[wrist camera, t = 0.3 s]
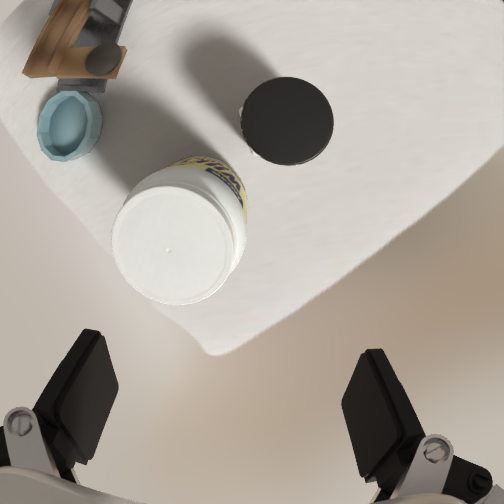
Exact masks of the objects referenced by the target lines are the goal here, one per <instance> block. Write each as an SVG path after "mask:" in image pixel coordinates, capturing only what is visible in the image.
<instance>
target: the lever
mask: <svg viewBox="0 0 504 504" xmlns="http://www.w3.org/2000/svg"><path fill="white" fill-rule="evenodd" d="M91 1H92V0H60V1H59V3H58V4H57V6H56V7H55V9H54V11H53V12H52V14H51V16H50V17H49V19H48V21H47V23H46V24H45V26H44V28H43V30H42V32H41V34H40V35H39V37H38V39H37V41H36V43H35V45H34V47H33V49H32V51H31V54H30V56H29V58H28V60H27V62H26V64H25V67H24V69H23V71H22V73H23V74H24V75H26V76H28V77H29V78H39V77H57V78H58V79H63V78H102V79H116V76H117V74H118V71H119V69H120V66H121V64H122V62H123V59H124V57H125V55H126V52H127V49H126V48H125V46H118V45H117V44H116V43H113V42H106V43H102V44H100V45H98V46H94V47H76V48H72V47H73V45H74V43H75V41H76V39H77V37H78V35H79V33H80V31H81V29H82V27H83V25H84V24H85V22H86V20H87V18H88V16H89V15H90V13H91V10H89V9H88V8H89V6H90V3H91Z"/></svg>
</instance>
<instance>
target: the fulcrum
mask: <svg viewBox="0 0 504 504" xmlns="http://www.w3.org/2000/svg"><path fill="white" fill-rule="evenodd" d="M59 1H60V0H54V3H53V5H52V8H51V10H50V13H49V16H51V14H52V12H53V11H54V9H55V7H56V6H57V4H58V3H59ZM132 1H133V0H92V1H91V3H90V6H89V8H88V9H89V10H91V13H90V15H89V16H88V18H87V20H86V22H85V24H84V25H83V27H82V29H81V31H80V33H79V35H78V37H77V39H76V41H75V43H74V45H73V47H72V48H76V47H94V46H98V45H100V44H102V43H106V42H113V43H116V44H117V43H118V40H119V37H120V34H121V31H122V28H123V25H124V22H125V19H126V17H127V14H128V11H129V9H130V6H131V4H132ZM106 83H107V79H102V78H63V79H59V81H58V87H57V92H61V91H79V92H99V93H104V91H105V87H106Z"/></svg>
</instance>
